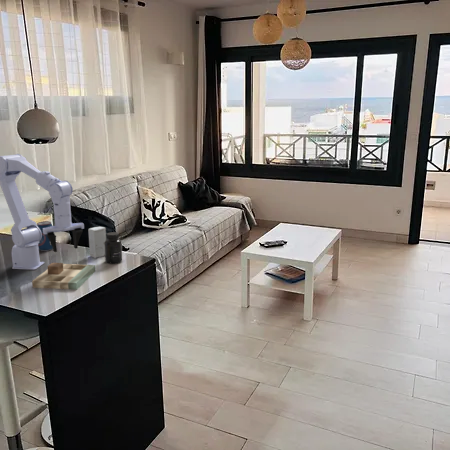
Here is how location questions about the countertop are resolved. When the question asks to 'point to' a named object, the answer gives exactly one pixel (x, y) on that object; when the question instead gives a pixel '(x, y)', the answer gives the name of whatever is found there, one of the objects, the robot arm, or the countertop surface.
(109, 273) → the countertop surface
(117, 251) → the supplement bottle
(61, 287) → the trap board
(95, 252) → the skincare box
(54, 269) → the walnut block
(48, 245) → the soda can
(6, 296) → the countertop surface
